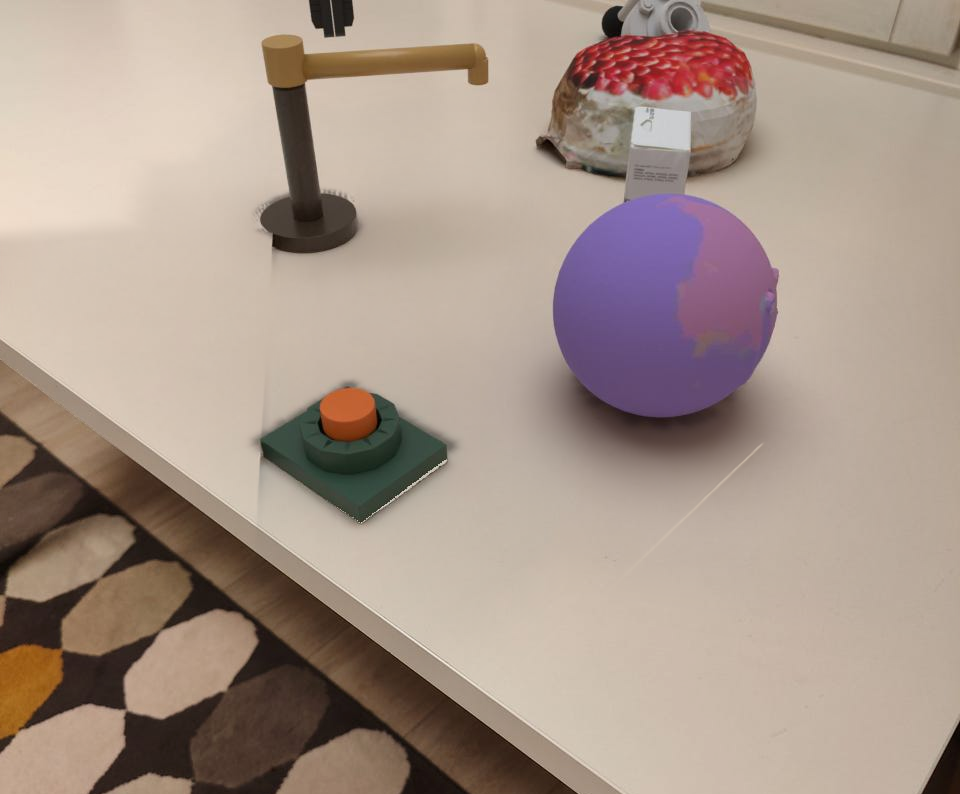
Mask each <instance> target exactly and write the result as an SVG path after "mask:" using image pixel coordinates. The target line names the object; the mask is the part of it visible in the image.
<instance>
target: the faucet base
mask: <svg viewBox="0 0 960 794" xmlns="http://www.w3.org/2000/svg"><path fill="white" fill-rule="evenodd" d="M271 88H272V95H273V101H274V106H275V112H276V118H277V126H278V131H279V138H280V145H281V149H282V156H283V162H284V163H283V164H284V168H285V175H286V180H287V187H288V192H289V193H288V194H289V196H286V197H284V198H281V199H278V200H276V201H273V202H272V203H271V204H269V205H268V206H267V207H266V208H264V209H263V211H262V212H261V213H260V217H259V222H260V225H261V226H262V227H263V229H264V230H266V231H267V232H269V233H271V234H272V238H271V239H272V241H271V247H273V248H274V249H277V250H280V251H284V252H290V253H297V254H298V253H303V254H305V253H317V252H322V251H327V250H330V249H333V248H336V247H339V246H341V245H343V244H345V243H347V242H348V241H350V240H351V239H352V238H353V237H354V236H355V235H356V233H357V231H358V228H359V224H358V223H359V222H358V213H357V207H356V206H355V205H354V203H352V202H351V201H350V200H348V199H347V198H345V197H343V196H340V195H336V194H331V193H323V192H321V188H320V179H319V173H318V166H317V165H318V164H317V160H316V151H315V144H314V136H313V130H312V124H311V115H310V107H309V102H308V94H307V86H306V82H305V83H304V84H302V85H299V86H295V87H288V88H280V87H274V86H271Z"/></svg>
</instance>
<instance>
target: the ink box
mask: <svg viewBox="0 0 960 794" xmlns="http://www.w3.org/2000/svg"><path fill="white" fill-rule="evenodd" d="M690 153H691V112H690V111H677V110H667V109H658V108H650V107H642V106H641V107H636V108H635V113H634V120H633V127H632V134H631V142H630V150H629V158H628V167H627V175H626V178H625V184H624V194H623V203H625V202H627V201H630V200H633V199H636V198H639V197H643V196H648V195H655V194H683V195H685V193H686V186H687V185H686V184H687V179H688V177H687V173H688V166H689V159H690Z"/></svg>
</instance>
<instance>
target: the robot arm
mask: <svg viewBox="0 0 960 794" xmlns="http://www.w3.org/2000/svg"><path fill="white" fill-rule="evenodd" d="M353 2H354V1H353V0H308V3H309V12H310V20H311V23H312V25H313V27H314V29H315V30H318V29H321V30H322V31H323V37H324V38H327V39H328V38H338V37H339V38H340V37H346V28H348V27H349V28H350V27H353V24H354V21H355V12H354V4H353Z"/></svg>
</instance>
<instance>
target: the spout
mask: <svg viewBox="0 0 960 794" xmlns="http://www.w3.org/2000/svg"><path fill="white" fill-rule="evenodd" d="M304 46H305V45H304V40H303V38H302V37H301V36H299V35H296V34H276V35H271V36H268V37H266V38H264V39H263V40H262V41H261V51H262V55H263V61H264V68H265V74H266V81H267V83H268V85H270V86H271V87H272V86H274V87H280V88H288V87H295V86H299V85H302V84H304V83H305V84H306V83H307V82H308V81H311V80H312V81H313V80H326V79H327V80H328V79H343V78H344V79H345V78H356V77H359V78H360V77H373V76H387V75H400V74H401V75H403V74H418V73H431V72H432V73H433V72H445V71H446V72H447V71H449V72H450V71H461V70H463V71H464V70H467V83H468V84H469V85H472V86H484V85H487V84H488V83H489V57H488V56H487V53H486V50H485V48H484V47H483V46H482V45H481V44H479V43H475V42H473V43H458V44H442V45H441V44H440V45H425V46H410V47H394V48H380V49H377V48H376V49H364V50H363V49H361V50H350V51H346V50H345V51H332V52H330V51H329V52H317V53H315V52H314V53H306V52H305V47H304Z"/></svg>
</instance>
